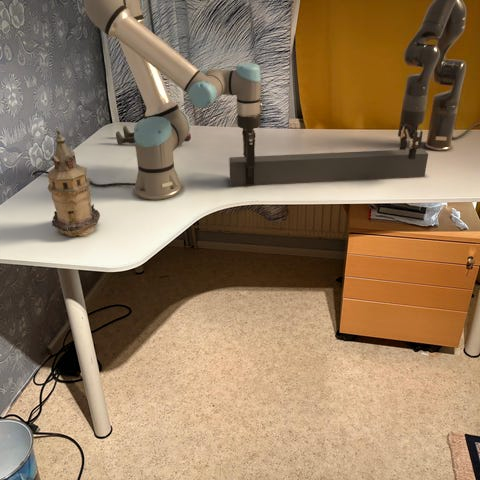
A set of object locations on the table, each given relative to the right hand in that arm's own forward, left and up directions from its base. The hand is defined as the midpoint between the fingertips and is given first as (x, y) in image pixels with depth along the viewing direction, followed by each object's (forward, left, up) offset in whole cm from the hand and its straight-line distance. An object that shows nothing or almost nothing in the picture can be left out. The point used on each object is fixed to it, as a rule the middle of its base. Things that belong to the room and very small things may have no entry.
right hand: (406, 154), depth 184 cm
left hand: (+36, -41, -7) cm, 55 cm away
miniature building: (+92, -61, -8) cm, 111 cm away
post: (+18, -20, -8) cm, 28 cm away
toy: (+25, -96, -8) cm, 99 cm away
